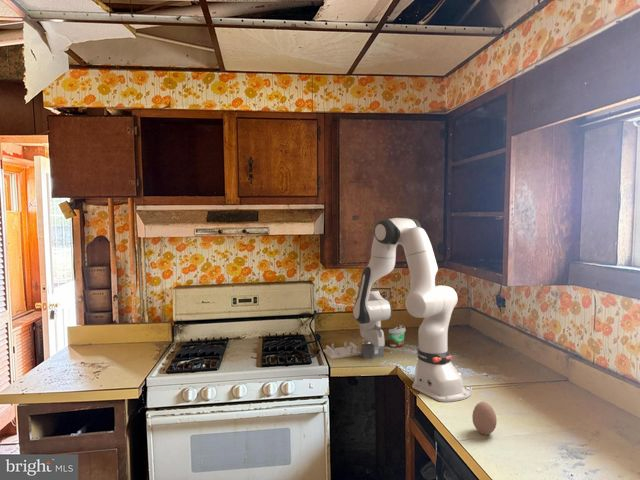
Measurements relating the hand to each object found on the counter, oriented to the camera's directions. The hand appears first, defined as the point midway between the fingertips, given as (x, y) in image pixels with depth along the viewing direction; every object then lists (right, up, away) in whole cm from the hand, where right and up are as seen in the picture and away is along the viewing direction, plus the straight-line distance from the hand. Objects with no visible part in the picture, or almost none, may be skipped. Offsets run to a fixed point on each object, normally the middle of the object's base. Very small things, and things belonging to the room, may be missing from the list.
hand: (372, 350), depth 189 cm
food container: (+16, -2, +15) cm, 22 cm away
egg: (+25, -5, -71) cm, 75 cm away
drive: (0, -3, 0) cm, 3 cm away
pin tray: (-14, -3, +6) cm, 16 cm away
